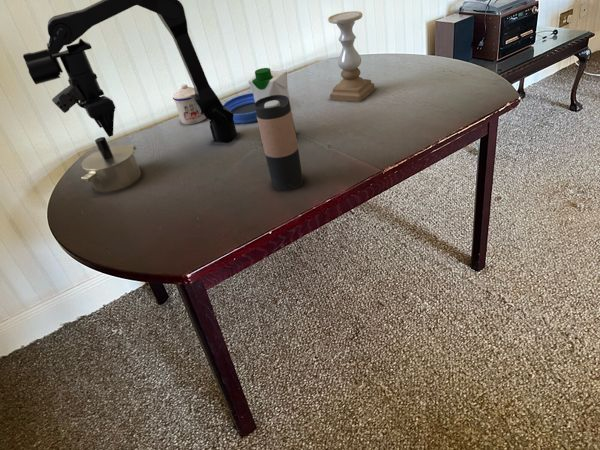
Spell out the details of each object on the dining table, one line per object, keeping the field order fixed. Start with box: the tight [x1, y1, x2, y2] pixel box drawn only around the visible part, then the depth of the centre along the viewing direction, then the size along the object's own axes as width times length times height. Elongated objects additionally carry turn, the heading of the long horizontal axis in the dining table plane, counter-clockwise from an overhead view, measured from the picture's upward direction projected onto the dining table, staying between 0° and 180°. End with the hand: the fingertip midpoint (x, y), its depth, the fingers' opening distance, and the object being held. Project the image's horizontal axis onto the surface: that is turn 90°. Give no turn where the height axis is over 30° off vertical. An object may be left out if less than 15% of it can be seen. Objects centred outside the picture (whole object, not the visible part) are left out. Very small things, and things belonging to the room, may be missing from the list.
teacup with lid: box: [172, 83, 207, 125], centre depth 151 cm, size 12×9×12 cm
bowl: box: [222, 92, 258, 124], centre depth 150 cm, size 18×18×4 cm
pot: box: [81, 144, 142, 193], centre depth 123 cm, size 12×18×7 cm
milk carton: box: [248, 67, 297, 135], centre depth 125 cm, size 9×9×20 cm
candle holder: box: [327, 10, 376, 103], centre depth 143 cm, size 11×11×24 cm
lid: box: [81, 136, 135, 171], centre depth 120 cm, size 13×13×6 cm
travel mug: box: [255, 95, 304, 191], centre depth 104 cm, size 8×8×20 cm
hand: (106, 131), depth 121 cm, fingers open, 9 cm apart
